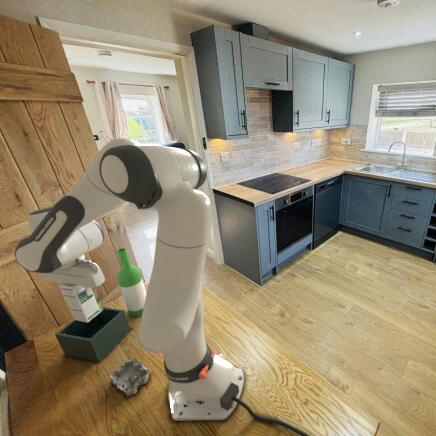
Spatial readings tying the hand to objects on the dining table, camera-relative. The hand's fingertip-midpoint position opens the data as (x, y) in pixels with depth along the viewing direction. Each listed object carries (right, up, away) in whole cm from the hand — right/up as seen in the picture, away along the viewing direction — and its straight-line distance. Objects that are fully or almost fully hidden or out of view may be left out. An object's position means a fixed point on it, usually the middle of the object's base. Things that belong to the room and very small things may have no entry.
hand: (79, 293), depth 78 cm
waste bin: (-1, -21, +9) cm, 23 cm away
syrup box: (0, -9, +4) cm, 10 cm away
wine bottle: (+5, -15, +23) cm, 28 cm away
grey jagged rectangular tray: (+19, -27, -3) cm, 33 cm away
